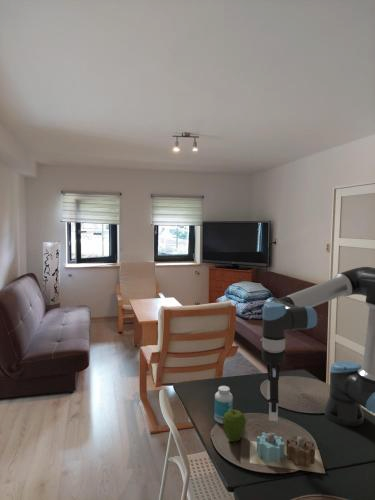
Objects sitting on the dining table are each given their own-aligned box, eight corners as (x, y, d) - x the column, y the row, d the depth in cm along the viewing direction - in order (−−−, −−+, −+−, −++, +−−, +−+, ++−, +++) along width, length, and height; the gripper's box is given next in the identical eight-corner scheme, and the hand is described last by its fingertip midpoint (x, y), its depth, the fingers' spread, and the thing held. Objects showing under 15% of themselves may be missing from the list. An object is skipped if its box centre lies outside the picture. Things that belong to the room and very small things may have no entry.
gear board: (318, 453, 123) (319, 430, 122) (325, 477, 111) (326, 452, 110) (249, 444, 127) (250, 422, 127) (249, 467, 115) (250, 442, 115)
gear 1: (255, 445, 124) (255, 432, 124) (279, 445, 124) (280, 432, 124) (259, 462, 116) (260, 448, 115) (286, 463, 115) (287, 448, 115)
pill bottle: (231, 425, 139) (232, 393, 138) (213, 423, 140) (213, 391, 139) (232, 415, 146) (233, 385, 145) (215, 413, 148) (216, 383, 147)
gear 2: (311, 451, 122) (312, 437, 121) (316, 468, 113) (317, 454, 112) (285, 447, 123) (286, 434, 123) (288, 464, 114) (288, 450, 114)
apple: (229, 449, 124) (230, 419, 123) (218, 436, 132) (218, 407, 131) (249, 444, 128) (250, 414, 127) (237, 431, 135) (238, 403, 135)
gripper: (261, 336, 130) (260, 390, 132) (263, 362, 106) (261, 429, 107) (281, 337, 129) (280, 392, 130) (288, 364, 104) (286, 431, 106)
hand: (272, 409), depth 119 cm, fingers open, 13 cm apart
